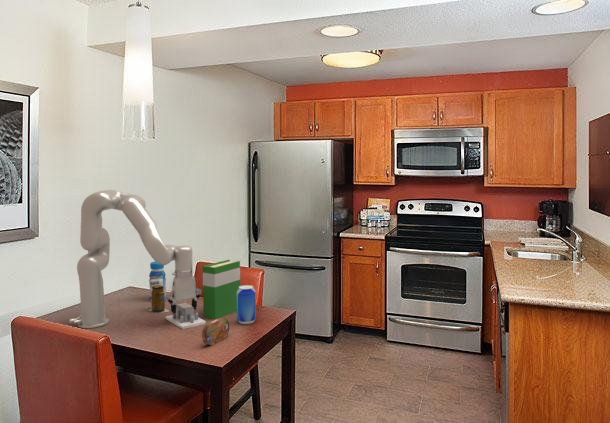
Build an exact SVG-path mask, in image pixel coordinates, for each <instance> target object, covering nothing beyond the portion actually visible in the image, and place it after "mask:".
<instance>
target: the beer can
mask: <svg viewBox="0 0 610 423" xmlns="http://www.w3.org/2000/svg"><path fill="white" fill-rule="evenodd" d="M256 299H257V298H256V289H255V288H254V285H249V284H245V285H240V286H239V289H238V291H237V311H236V320H237V321H238V323H239V324H241V325H250V324H254V322H255V321H256V318H257V308H256V306H257V303H256Z"/></svg>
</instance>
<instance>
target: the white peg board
mask: <svg viewBox="0 0 610 423" xmlns="http://www.w3.org/2000/svg"><path fill="white" fill-rule="evenodd" d="M165 320H166V321H169V322H170V323H171V324H173V325H175V326H176V327H178V328H180V329H182V330H186V329H191V328H194V327H199V326H203V325H206V324H207V321H206V320H204V319H202V318H201V317H199V312H194V316H193V315H192V316H190V322H184V318H183V316H180V319H179V318H177V317H176V314H174V313H172V314H170V315H167V316H166V315H165Z"/></svg>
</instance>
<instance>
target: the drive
mask: <svg viewBox="0 0 610 423" xmlns="http://www.w3.org/2000/svg"><path fill="white" fill-rule="evenodd" d="M175 305H176V317H177V318H179V319H180V316H183V318H184V322H190V316H192V315H193V316H194V315H195V310H194V307H192V304H189V303H187V302H181V303H175Z"/></svg>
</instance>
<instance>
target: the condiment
mask: <svg viewBox="0 0 610 423" xmlns="http://www.w3.org/2000/svg"><path fill="white" fill-rule="evenodd" d="M163 290H164V289H163V286H162V285H155V286H153V287H152V293H151V294H152V301H151V309H148V311H149V312H151V313H153V314H163V313H167V312H170V310H169V309H166V308H165V307H166V300H165V294H164V291H163Z"/></svg>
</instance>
